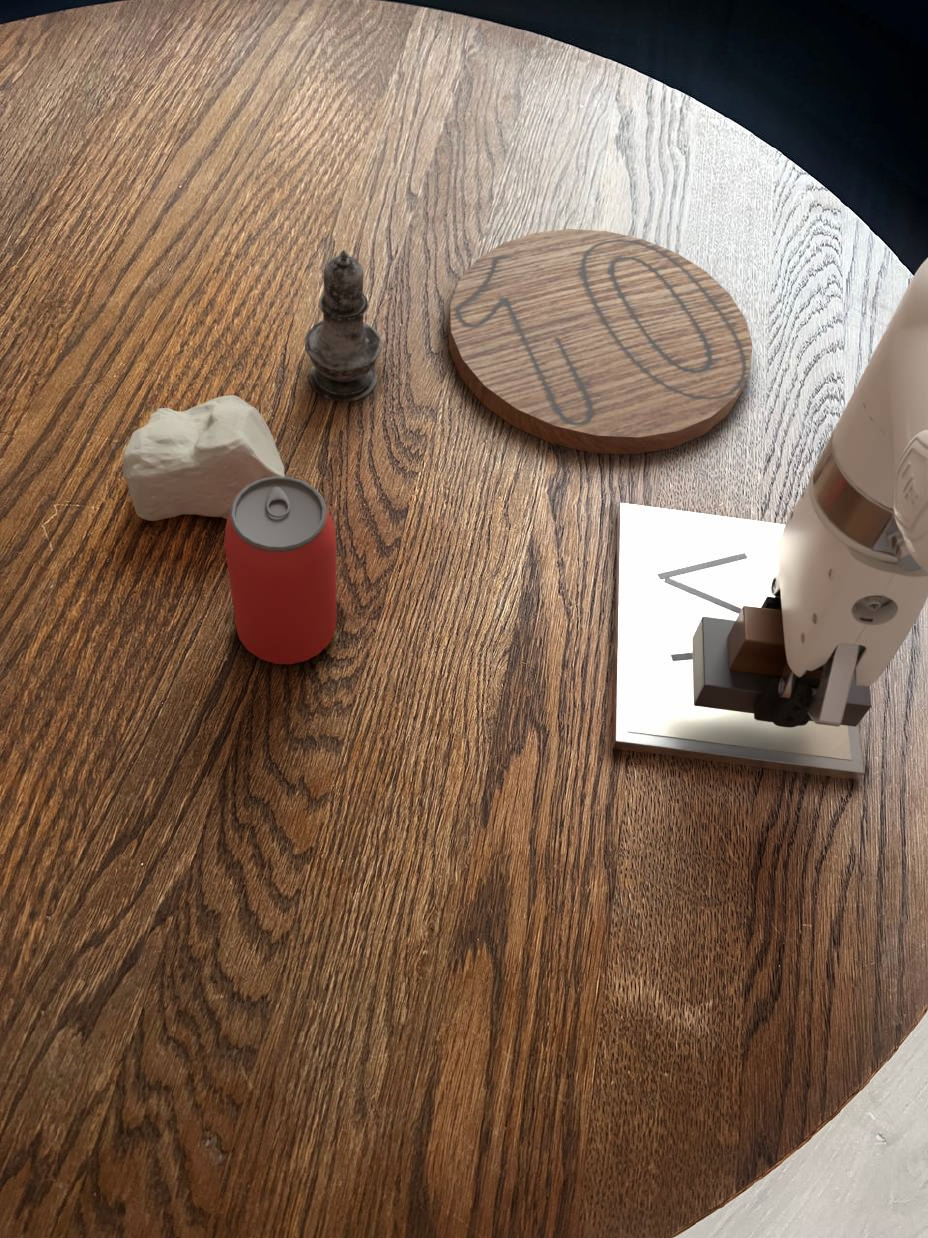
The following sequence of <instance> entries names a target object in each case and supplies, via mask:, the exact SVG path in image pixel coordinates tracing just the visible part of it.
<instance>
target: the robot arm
mask: <svg viewBox="0 0 928 1238" xmlns="http://www.w3.org/2000/svg"><path fill="white" fill-rule="evenodd" d="M785 524H786V525H785V528H784V530H783V533H782V535H781V539H780V543H779V572H778V573H777V574H776V575H775V576H774V578H773V580H772V584H771V594H772V595H773V596H775V597H769V596H767V597H766V599H765V601H764V603H763V605H762V607H761V608H768V609H775V610H782V618H783V630H784V641H785V650H786V658H787V663H786V666H785V668H784V671H783V673H782V676H781V677H776V678H773V679H772V680H771V682H770V684H769V685H768V687H767V689H766V690H765V692H764V694H763V695H762V697H761V699H760V700H759V702H758V703H757V705H756V707H755V708H754V719H755V720H758V721H766V722H773V723H774V724H775V725H777V726H780V727H790V728H791V727H796V726H803V725H806V724H807V723H808V722H809V720H810V719H812V720H813V721H814V723H816V724H821V725H829V726H837V727H839V726H840V725H841V722H842V719H843V714H844V710H845V706H846V702H847V698H848V694H849V690H850V686H851V682H852V678H853V674H854V676H855V684H856V685H857V686H869V687H871V686H873V685H874V684H875V683H876V682H877V681H878V680H879V679H880V677H881V676H882V675H883V673H884V672H885V671H886V670H887V668H888V666H889V665H890V663H891V662H892V660H893V659H894V657H895V656H896V655H897V653H898V651H899V650H900V648H901V646H902V645H903V643H904V642H905V641H906V639H907V637H908V635H909V634H910V631H911V630H912V629H913V627H914V625H915V623H916V622H917V620H918V618H919V616H920V614H921V612H922V610H923V608H924V606H925V605H926V602H927V600H928V257H927V258H926V259H925V260H924V261H922V264H920V266H919V267H918V269H917V270H916V271H915V274H914V275H913V276H912V279H911V280H910V282H909V284H908V285H907V288H905V291H904V293H903V295H902V297H901V299H900V301H899V302H898V305H897V307H896V308H895V311H894V312H893V314H892V316H891V318H890V320H889V322H888V324H887V325H886V328H885V330H884V331H883V334H882V336H881V338H880V340H879V341H878V343H877V345H876V348H875V349H874V351H873V353H872V355H871V357H870V359H869V361H868V363H867V364H866V367H865V369H864V370H863V372H862V374H861V376H860V378H859V381H858V382H857V384H856V387H855V388H854V391H853V392H852V394H851V396H850V398H849V400H848V401H847V403H846V406H845V408H844V410H843V412H842V414H841V416H840V418H839V419H838V421H837V423H836V425H835V427H834V428H833V431H832V432H831V434H830V436H829V438H828V440H827V442H826V444H825V446H824V448H823V450H822V452H821V454H820V455H819V457H818V459H817V461H816V464H815V465H814V467H813V469H812V471H811V473H810V476H809V480H808V483H807V485H806V487H805V488H804V490H803V491H802V493H801V495H800V497H799V499H798V500H797V501H796V503H795V506H794V507H793V509H792V511H791V513H790V515H789V517H788V519H787V521H786V523H785ZM815 669H816V670H823V671H822V675H821V679H820V680H819V679H817V678H809V677H802V675H803V674H806V670H808V671H813V670H815Z"/></svg>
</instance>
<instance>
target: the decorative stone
mask: <svg viewBox="0 0 928 1238" xmlns="http://www.w3.org/2000/svg"><path fill="white" fill-rule="evenodd" d="M121 461H122V471H123V473H122V474H123V479H124V481H125V482H126V484H127V488H128V492H129V496H130V499H131V502H132V504H133V509H134V511H135V513H136V515H137V517H139V518H140V519H143V520H146V521H149V522H153V521H154V522H156V521H160V520H164V519H173V518H176V517H179V516H182V515H193V516H194V515H195V516H203V517H211V518H220V517H221V518H222V519H226V520H227V519H228V517H229V515H230V511H231V504H232V502H233V501H234V499H235V497H236V495H237V494H238V493H239V492H240V491H241V490H242V489H243V488H245V487H246V486H247V485H249V484H251V483H253V482H255V481H257V480H259V479H263V478H268V477H273V476H281V477H286V475H285V465H284V463H283V462H282V461H283V460H282V459H281V455H280V453H279V451H278V447H277V445H276V441H275V439H274V437H273V434H272V431H271V430H270V428H269V426H268V424H267V422H266V421H265V419H264V417H263V416H262V415H261V413H260V411H259V410H258V409H257V408H256V407H255V406H252V405H251V404H250V403H248V402H246V401H245V400H243V399H242V398H241V397H239V396H237V395H232V394H229V395H222V396H217V397H215V398H212V399H210V400H208V401H206V402H203V403H201V404H198V405H195V406H193V407H191V408H188V409H186V410H184V411H179V410H178V411H177V410H174V409H171V408H169V407H161V408H160V407H159V408H158V409H155V410H154V411H153V412H152V413H151V415H149V419H148V422H147V423H146V424H145V425H144V426H143V427H140V428H138V429H136V430H134V431H133V432H132V434H131V436H130V439H129V441H128V442H127V445H126V447H125V448H124V451H123V455H122V459H121Z"/></svg>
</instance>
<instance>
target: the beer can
mask: <svg viewBox="0 0 928 1238" xmlns="http://www.w3.org/2000/svg"><path fill="white" fill-rule="evenodd" d="M327 507H328V506H327V505H326V501H325V499H324V497H323V495H322V494H321V493H320V492H319V491H318V490H317V489H316V487H314V486H312V485H311V484H309V482H306V481H304V480H302V479H298V478H295V477H293V476H285V477H281V476H273V477H268V478H263V479H259V480H257V481H255V482H253V483H251V484H249V485H247V486H246V487H245V488H243V489H242V490H241V491H240V492H239V493H238V494H237V495H236V497H235V499H234V501H233V502H232V504H231V511H230V515H229V517H228V519H226V524H225V530H224V539H223V542H224V551H225V556H226V557H225V558H226V564H227V572H228V577H229V578H228V579H229V586H230V593H231V602H232V608H233V615H234V623H235V628H236V631H237V636H238V639H239V641H240V642H241V643H242V645H243V646H244V647H245V649H246V650H247V651H248V652H249V653H251V654H252V655H254V656H255V657H256V658H258V659H260V660H262V661H265V662H268V663H270V664H271V663H272V664H275V665H294V664H298V663H303V662H307V661H308V660H310V659H312V658H314V657H315V656H317V655H319V654H320V653H322V652H323V650H325V648H326V647H327V646H329V644H331V641H332V639H333V637H334V635H335V633H336V631H337V531H336V527H335V525H334V521H333V518H332V516H331V513H330V511H329V509H328V508H327Z"/></svg>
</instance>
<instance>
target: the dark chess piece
mask: <svg viewBox="0 0 928 1238" xmlns="http://www.w3.org/2000/svg"><path fill="white" fill-rule="evenodd" d="M363 268H364V267H363V266H362V264H361V263H360V261H359V260H358V259H356V258H355V257H353V256H349V253H348V252H347V251H346V250H342V251H340V253H339V254H338V255H337V256H335V257H333V258H331V259H330V260H328V261H327V263H326V264H325V266H324V269H323V294H321V296H320V298H319V300H318V307H319V310H320V311H321V313H323V314H322V315H323V317H322V318H323V319H322V320H321V321H319V322H317V323H316V324H314V325H312V326H311V328H310V329H309V330H308V331H307V333H306V335H305V337H304V349H305V351H306V354H307V356H308V357H309V359H310V361H311V363H312V366H311V369H310V371H309V383H310V385H311V388H312V389H313V390H314V391H315V392H316V393H317V394H318V395H320V396H321V397H322V398H325V399H328V400H329V401H335V402H339V403H341V402H342V403H343V402H344V403H348V402H356V401H358V400H361V399H364V398H365V397H367V396H368V395H370V394H371V393H372V392H373V390H374V389H375V388H376V385H377V382H378V379H377V378H378V374H377V373H376V369H375V368H374V366H375V364H376V361H377V359H378V358H379V357H380V355H381V352H382V349H383V341H382V338H381V335H380V334H379V332H378V331H377V330H376V329H375V327H373V326H371V325H369V324H368V323H367V322H365V321H364V314H365V313H366V312H367V311H368V308H369V301H368V298H367V297H366V295H365V294H364V269H363Z"/></svg>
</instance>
